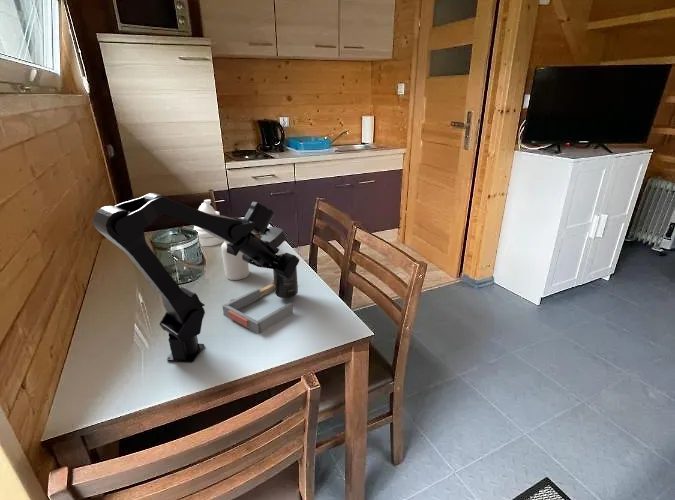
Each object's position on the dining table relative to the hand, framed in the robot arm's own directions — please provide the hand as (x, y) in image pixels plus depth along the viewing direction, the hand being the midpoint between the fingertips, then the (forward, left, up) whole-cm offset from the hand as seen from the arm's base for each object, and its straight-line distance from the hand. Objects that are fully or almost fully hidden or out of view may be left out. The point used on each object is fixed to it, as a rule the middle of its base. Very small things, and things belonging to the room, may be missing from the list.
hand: (286, 271), depth 111 cm
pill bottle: (+14, +21, -9) cm, 27 cm away
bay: (-10, +6, -9) cm, 14 cm away
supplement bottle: (-1, 0, -7) cm, 7 cm away
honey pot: (+46, +45, -9) cm, 65 cm away
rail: (-1, +10, -9) cm, 13 cm away
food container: (+38, +24, -9) cm, 46 cm away
